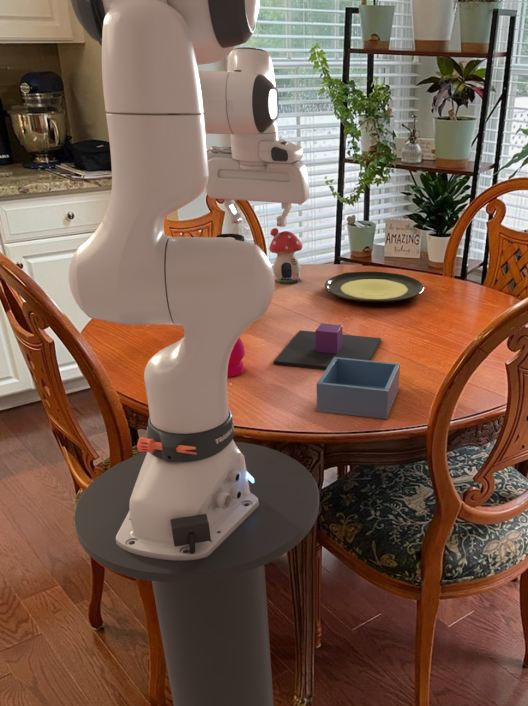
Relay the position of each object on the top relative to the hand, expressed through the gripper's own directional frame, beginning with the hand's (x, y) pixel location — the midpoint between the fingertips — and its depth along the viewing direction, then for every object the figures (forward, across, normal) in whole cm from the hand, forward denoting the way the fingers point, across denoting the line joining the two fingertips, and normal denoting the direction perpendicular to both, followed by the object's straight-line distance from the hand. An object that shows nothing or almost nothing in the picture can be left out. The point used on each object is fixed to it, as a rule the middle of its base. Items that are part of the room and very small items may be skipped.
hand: (259, 224), depth 141 cm
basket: (+29, +24, -14) cm, 40 cm away
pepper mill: (+29, -6, -7) cm, 31 cm away
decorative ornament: (+29, -14, +60) cm, 68 cm away
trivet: (+29, +12, +9) cm, 33 cm away
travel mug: (+29, -17, +25) cm, 42 cm away
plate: (+29, +13, +55) cm, 64 cm away
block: (+28, +12, +9) cm, 32 cm away
